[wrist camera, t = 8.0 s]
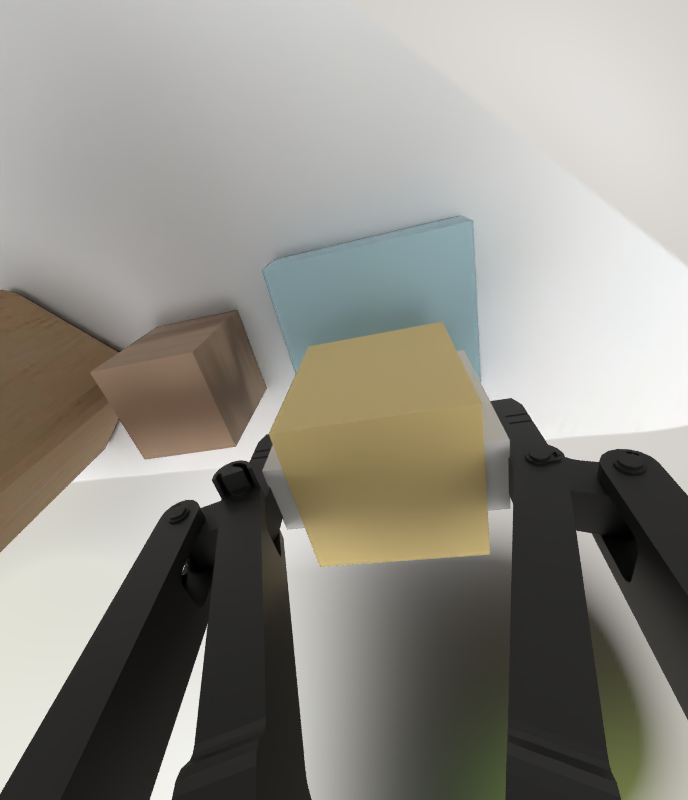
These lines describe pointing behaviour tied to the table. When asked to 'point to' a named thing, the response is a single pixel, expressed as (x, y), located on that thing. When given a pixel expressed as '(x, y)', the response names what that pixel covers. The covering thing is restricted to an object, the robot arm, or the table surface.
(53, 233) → the table surface
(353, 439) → the brick
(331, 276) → the base brick
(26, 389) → the wooden block
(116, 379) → the brick
